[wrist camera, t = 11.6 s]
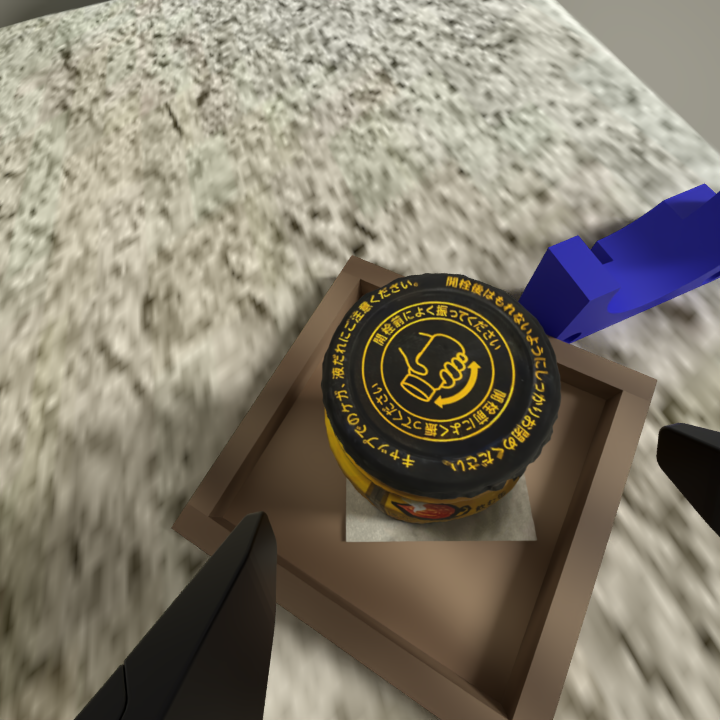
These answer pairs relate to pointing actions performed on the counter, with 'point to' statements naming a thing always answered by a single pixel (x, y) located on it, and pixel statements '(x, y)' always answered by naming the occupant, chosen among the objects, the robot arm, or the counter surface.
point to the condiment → (439, 410)
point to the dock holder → (431, 558)
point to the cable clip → (627, 267)
